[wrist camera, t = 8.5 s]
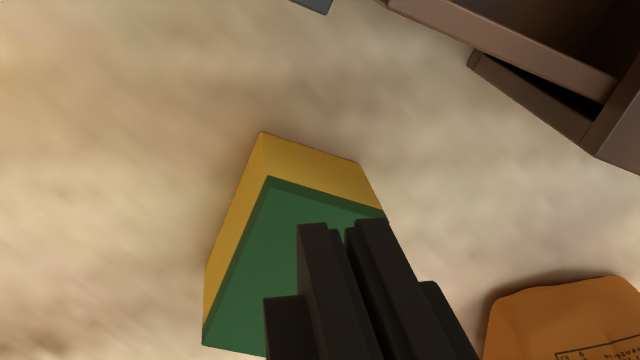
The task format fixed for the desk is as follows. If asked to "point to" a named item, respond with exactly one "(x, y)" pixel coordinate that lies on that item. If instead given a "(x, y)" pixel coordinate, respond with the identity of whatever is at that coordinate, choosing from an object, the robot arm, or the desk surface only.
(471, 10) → the drawer
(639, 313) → the coffee package
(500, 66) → the cabinet
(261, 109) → the desk surface
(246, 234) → the sponge
